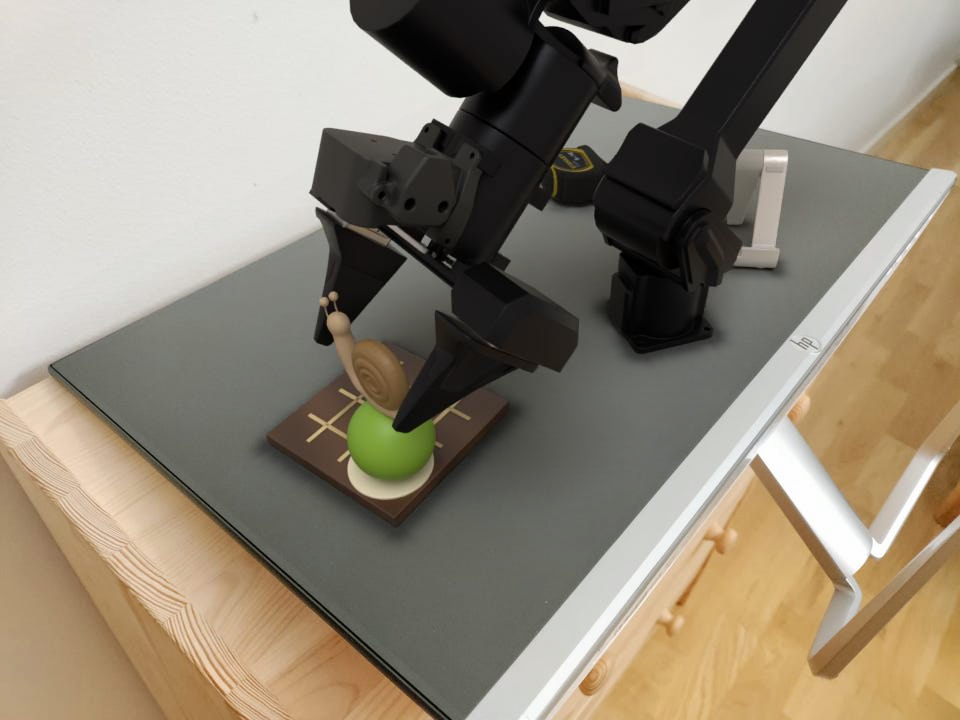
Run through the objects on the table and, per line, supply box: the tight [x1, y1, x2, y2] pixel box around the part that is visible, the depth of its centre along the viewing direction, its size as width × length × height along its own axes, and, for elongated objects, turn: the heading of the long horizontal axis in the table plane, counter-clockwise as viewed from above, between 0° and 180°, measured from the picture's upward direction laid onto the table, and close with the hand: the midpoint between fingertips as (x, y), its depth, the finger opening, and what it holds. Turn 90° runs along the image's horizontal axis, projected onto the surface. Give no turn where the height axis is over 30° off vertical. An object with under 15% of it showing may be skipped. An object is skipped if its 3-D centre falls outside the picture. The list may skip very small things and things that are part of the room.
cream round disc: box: [348, 453, 434, 500], centre depth 46 cm, size 6×6×1 cm
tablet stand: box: [726, 148, 789, 269], centre depth 61 cm, size 9×8×8 cm
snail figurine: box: [318, 292, 435, 481], centre depth 42 cm, size 5×6×12 cm
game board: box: [265, 339, 510, 527], centre depth 49 cm, size 12×12×1 cm
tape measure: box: [540, 144, 609, 203], centre depth 71 cm, size 7×7×4 cm
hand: (357, 384), depth 40 cm, fingers open, 9 cm apart
